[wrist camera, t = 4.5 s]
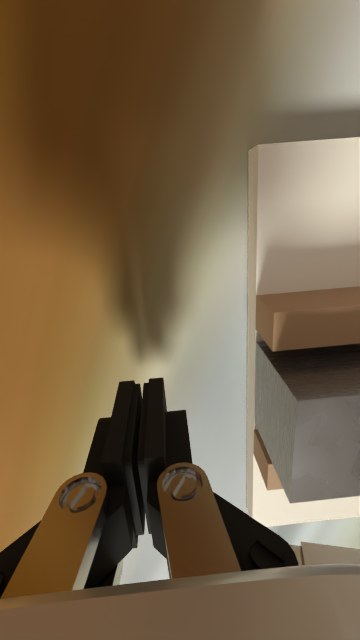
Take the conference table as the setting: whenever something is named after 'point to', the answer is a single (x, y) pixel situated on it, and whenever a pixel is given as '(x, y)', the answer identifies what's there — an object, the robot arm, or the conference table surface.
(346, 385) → the bolt
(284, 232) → the lock board
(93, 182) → the conference table surface
